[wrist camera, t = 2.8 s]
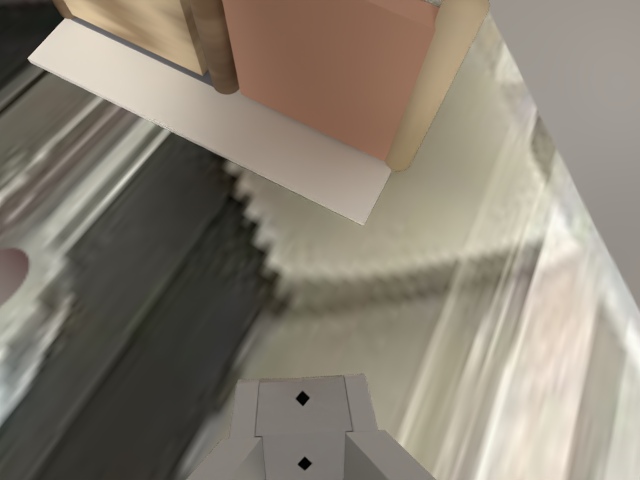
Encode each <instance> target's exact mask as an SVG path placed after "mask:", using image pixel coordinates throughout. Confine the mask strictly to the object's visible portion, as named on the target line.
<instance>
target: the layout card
mask: <svg viewBox="0 0 640 480" xmlns="http://www.w3.org/2000/svg"><path fill="white" fill-rule="evenodd" d="M27 59H28V60H29V61H30V62H31V63H32V64H35V65H37V66H39V67H41V68H43V69H45V70H47V71H49V72H51V73H53V74H55V75H57V76H59V77H61V78H63V79H65V80H67V81H69V82H71V83H73V84H75V85H77V86H79V87H81V88H83V89H85V90H87V91H89V92H92V93H94V94H96V95H98V96H100V97H102V98H104V99H106V100H108V101H110V102H112V103H114V104H116V105H118V106H120V107H122V108H124V109H126V110H128V111H130V112H132V113H134V114H136V115H138V116H140V117H142V118H144V119H147V120H149V121H151V122H153V123H155V124H157V125H159V126H161V127H163V128H165V129H167V130H169V131H171V132H173V133H175V134H177V135H179V136H181V137H183V138H185V139H187V140H189V141H191V142H193V143H195V144H197V145H199V146H202V147H204V148H206V149H208V150H210V151H212V152H214V153H216V154H218V155H220V156H222V157H224V158H226V159H228V160H230V161H232V162H234V163H236V164H238V165H240V166H242V167H244V168H246V169H248V170H250V171H252V172H254V173H256V174H259V175H261V176H263V177H265V178H267V179H269V180H271V181H273V182H275V183H277V184H279V185H281V186H283V187H285V188H287V189H289V190H291V191H293V192H295V193H297V194H299V195H301V196H303V197H305V198H307V199H309V200H311V201H314V202H316V203H318V204H320V205H322V206H324V207H326V208H328V209H330V210H332V211H334V212H336V213H338V214H340V215H342V216H344V217H346V218H348V219H350V220H352V221H354V222H356V223H358V224H360V225H362V226H364V225H365V223H366V221H367V219H368V217H369V215H370V213H371V211H372V209H373V207H374V205H375V203H376V201H377V199H378V197H379V195H380V193H381V192H382V190H383V188H384V186H385V184H386V182H387V180H388V178H389V176H390V174H391V172H392V169H390V168H389V167H388V166H387V165H386V163H385V162H384V161H382V160H380V159H378V158H376V157H374V156H372V155H369V154H367V153H365V152H363V151H361V150H359V149H357V148H355V147H352V146H350V145H348V144H346V143H344V142H342V141H340V140H338V139H335V138H333V137H331V136H329V135H327V134H325V133H323V132H321V131H318V130H316V129H314V128H312V127H310V126H308V125H306V124H304V123H301V122H299V121H297V120H295V119H293V118H291V117H289V116H287V115H284V114H282V113H280V112H278V111H276V110H274V109H272V108H270V107H267V106H265V105H263V104H261V103H259V102H257V101H255V100H253V99H250V98H248V97H246V96H244V95H242V94H241V92H240V89H239V90H238V91H237V92H235V93H233V94H228V95H225V94H221V93H219V92H217V91H216V90H215V89H214V87H213V84H212V80H211V77H210V73H209V70H207V71H206V73H205V74H204V75H203V76H202V75H199V74H197V73H195V72H193V71H191V70H189V69H187V68H185V67H182V66H180V65H178V64H176V63H174V62H172V61H170V60H168V59H165V58H163V57H161V56H159V55H157V54H155V53H153V52H151V51H148V50H146V49H144V48H142V47H140V46H138V45H136V44H134V43H131V42H129V41H127V40H125V39H123V38H121V37H119V36H117V35H114V34H112V33H110V32H108V31H106V30H104V29H102V28H100V27H97V26H95V25H93V24H91V23H89V22H87V21H85V20H83V19H80V18H75V19H66V18H65V19H64V20H63V21H62V22H61V23H60V24H59V25H58V27H57V28H56V29H55V30H54V31H53V32H52V33H51V34H50V35H49V36H48V37H47V38H46V39H45V40H44V41H43V43H42V44H41V45H40V46H39V47H38V48H37V49H36V50H35V51H34V52H33V53H32V54H31V55H30V56H29V57H28V58H27Z"/></svg>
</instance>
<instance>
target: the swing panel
mask: <svg viewBox="0 0 640 480" xmlns="http://www.w3.org/2000/svg"><path fill="white" fill-rule="evenodd" d="M222 2H223V7H224V12H225V17H226V22H227V27H228V32H229V37H230V42H231V47H232V52H233V57H234V62H235V67H236V72H237V77H238V82H239V87H240V92H241V94H242V95H244V96H246V97H248V98H250V99H253V100H255V101H257V102H259V103H261V104H263V105H265V106H267V107H270V108H272V109H274V110H276V111H278V112H280V113H282V114H284V115H287V116H289V117H291V118H293V119H295V120H297V121H299V122H301V123H304V124H306V125H308V126H310V127H312V128H314V129H316V130H318V131H321V132H323V133H325V134H327V135H329V136H331V137H333V138H335V139H338V140H340V141H342V142H344V143H346V144H348V145H350V146H352V147H355V148H357V149H359V150H361V151H363V152H365V153H367V154H369V155H372V156H374V157H376V158H378V159H380V160H382V161H384V162H385V163H386V165H387V166H388V167H389V168H390V169H392V170H394V171H403V170H406V169H407V168H408V167H409V166H410V164H411V162H412V160H413V158H414V156H415V155H416V153H417V151H418V149H419V147H420V145H421V143H422V141H423V139H424V137H425V135H426V133H427V131H428V129H429V127H430V125H431V123H432V121H433V119H434V117H435V115H436V113H437V111H438V109H439V107H440V105H441V103H442V101H443V99H444V97H445V95H446V93H447V91H448V89H449V88H450V86H451V84H452V82H453V80H454V78H455V76H456V74H457V72H458V70H459V68H460V66H461V64H462V62H463V60H464V58H465V56H466V54H467V52H468V50H469V48H470V46H471V44H472V42H473V40H474V38H475V36H476V34H477V32H478V30H479V28H480V26H481V24H482V22H483V21H484V19H485V17H486V15H487V13H488V11H489V7H490V3H489V0H442V3H441V6H440V7H437V6H435V5H432V4H430V3H428V2H425V1H423V0H222Z"/></svg>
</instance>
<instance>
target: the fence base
mask: <svg viewBox="0 0 640 480" xmlns="http://www.w3.org/2000/svg"><path fill="white" fill-rule="evenodd" d="M52 2H53V3H54V5H55V6H56V8H57V10H58V11H59V13H60V14H61V16H62V17H64V18H66V19H75V18H80V19H83V20H85V21H87V22H89V23H91V24H93V25H95V26H97V27H100V28H102V29H104V30H106V31H108V32H110V33H112V34H114V35H117V36H119V37H121V38H123V39H125V40H127V41H129V42H131V43H134V44H136V45H138V46H140V47H142V48H144V49H146V50H148V51H151V52H153V53H155V54H157V55H159V56H161V57H163V58H165V59H168V60H170V61H172V62H174V63H176V64H178V65H180V66H182V67H185V68H187V69H189V70H191V71H193V72H195V73H197V74H199V75H202V76H203V75H204V74H205V73H206V71H207V70H209V73H210V77H211V80H212V84H213V87H214V89H215V90H216V91H217V92H219V93H221V94H225V95H228V94H233V93H235V92H237V91H238V90H239V89H240V87H239V82H238V77H237V72H236V67H235V62H234V57H233V52H232V47H231V42H230V37H229V32H228V27H227V22H226V17H225V12H224V7H223V2H222V0H52Z"/></svg>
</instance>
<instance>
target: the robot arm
mask: <svg viewBox="0 0 640 480" xmlns="http://www.w3.org/2000/svg"><path fill="white" fill-rule="evenodd" d="M186 480H436V479H435V478H434V477H433V476H432V475H431V474H430V473H429V472H428V471H427V470H426V469H425V468H424V467H423V466H421V465H420V464H419V463H418V462H417V461H416V460H415V459H414V458H413V457H412V456H411V455H410V454H409V453H408V452H407V451H406V450H405V449H404V448H403V447H402V446H401V445H400V444H399V443H398V442H397V441H396V440H394V439H393V438H392V437H391V436H390V435H389V434H388V433H387V432H386V431H385V430H378V427H377V422H376V418H375V414H374V409H373V405H372V400H371V396H370V392H369V387H368V383H367V378H366V376H365V375H364V374H351V375H337V376H320V377H302V378H273V379H253V380H238V382H237V384H236V390H235V397H234V403H233V410H232V417H231V424H230V431H229V437H228V439H222V440H221V441H220V442H219V443H218V444H217V445H216V446H215V447H214V449H213V450H212V451H211V452H210V453H209V454H208V455H207V457H206V458H205V459H204V460H203V461H202V462H201V463H200V465H199V466H198V467H197V468H196V469H195V470H194V471H193V472H192V474H191V475H190V476H189V477H188V478H187V479H186Z"/></svg>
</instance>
